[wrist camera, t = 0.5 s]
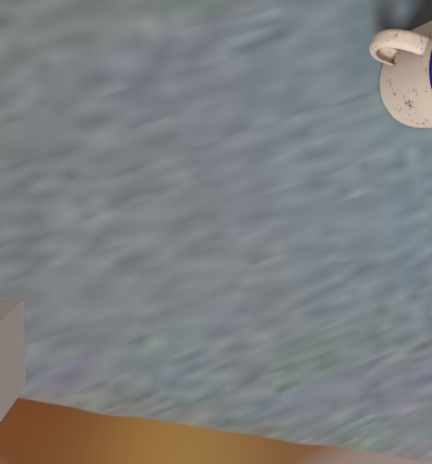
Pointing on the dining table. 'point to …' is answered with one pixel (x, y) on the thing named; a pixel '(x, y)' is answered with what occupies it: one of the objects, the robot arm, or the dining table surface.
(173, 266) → the dining table surface
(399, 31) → the teacup with lid
